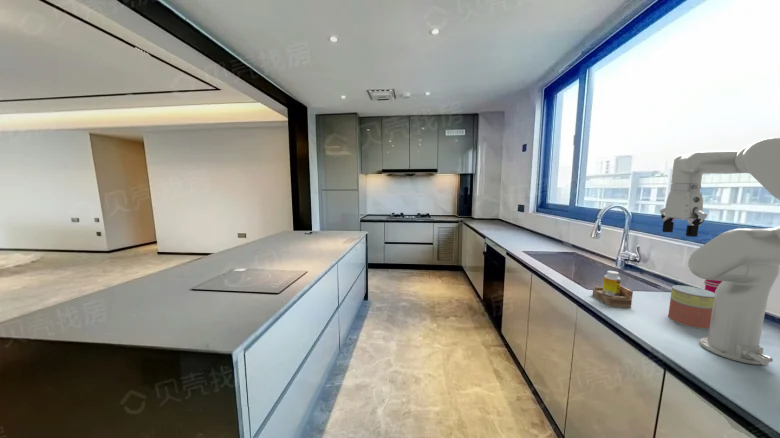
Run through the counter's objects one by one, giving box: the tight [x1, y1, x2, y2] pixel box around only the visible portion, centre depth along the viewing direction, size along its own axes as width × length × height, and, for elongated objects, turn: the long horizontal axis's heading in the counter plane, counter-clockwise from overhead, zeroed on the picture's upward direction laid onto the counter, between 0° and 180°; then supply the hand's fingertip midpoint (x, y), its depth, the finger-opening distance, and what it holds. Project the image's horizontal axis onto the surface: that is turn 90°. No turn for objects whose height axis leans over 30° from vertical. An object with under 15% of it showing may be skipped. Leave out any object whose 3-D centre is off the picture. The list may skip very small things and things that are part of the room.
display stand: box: [592, 284, 634, 308], centre depth 119 cm, size 12×8×7 cm, turn 173°
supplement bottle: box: [602, 270, 621, 296], centre depth 118 cm, size 6×6×10 cm
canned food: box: [667, 284, 715, 330], centre depth 101 cm, size 11×11×12 cm
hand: (678, 234), depth 102 cm, fingers open, 9 cm apart
